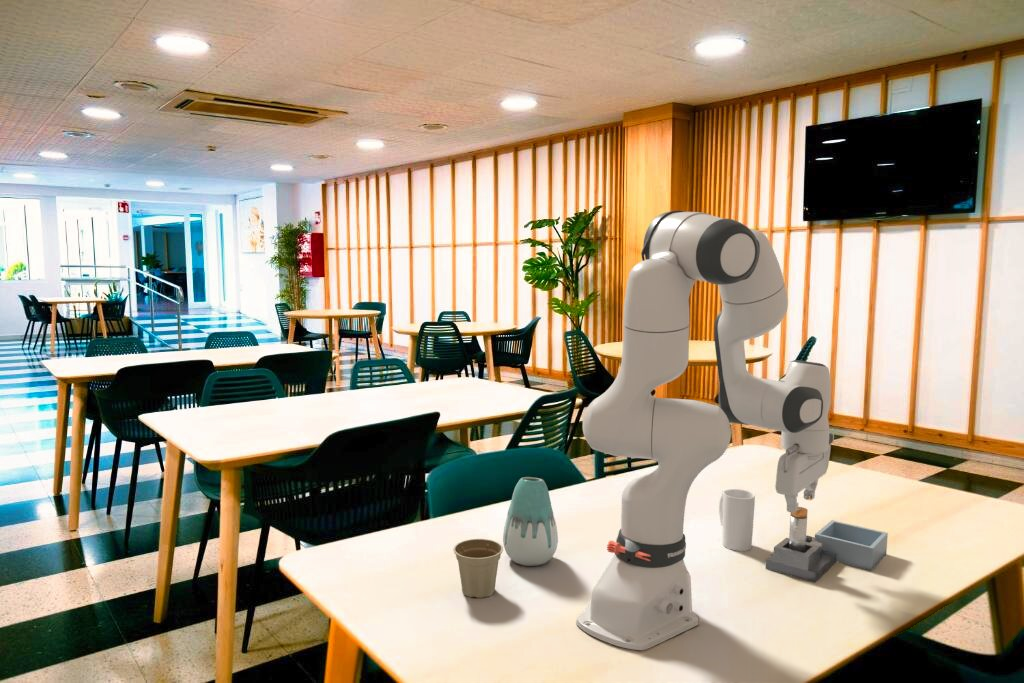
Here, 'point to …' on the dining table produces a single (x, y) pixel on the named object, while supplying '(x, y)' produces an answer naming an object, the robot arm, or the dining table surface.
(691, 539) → the dining table surface
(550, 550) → the vase
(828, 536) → the parts bin
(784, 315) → the robot arm
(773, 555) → the block
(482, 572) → the flower pot
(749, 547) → the mug
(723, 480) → the dining table surface
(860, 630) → the dining table surface
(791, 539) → the lock pin
